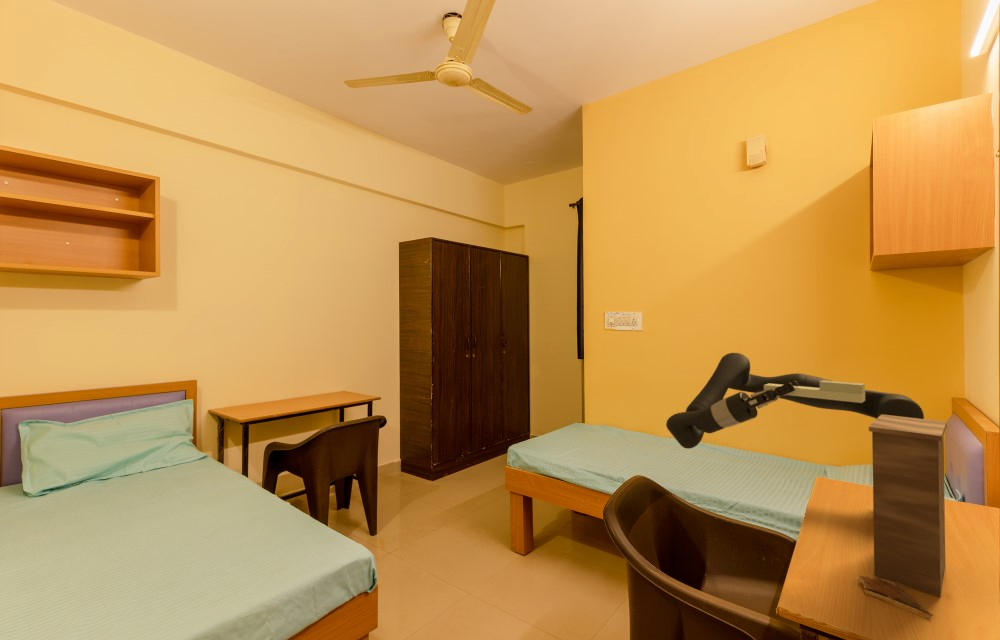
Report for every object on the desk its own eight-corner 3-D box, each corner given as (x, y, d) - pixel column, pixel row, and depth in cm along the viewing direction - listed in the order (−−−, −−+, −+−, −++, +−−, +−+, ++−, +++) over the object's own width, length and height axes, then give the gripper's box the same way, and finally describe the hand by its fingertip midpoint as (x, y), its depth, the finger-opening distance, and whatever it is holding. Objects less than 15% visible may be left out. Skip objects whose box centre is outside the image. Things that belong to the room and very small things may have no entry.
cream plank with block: (768, 390, 117) (768, 375, 117) (865, 400, 102) (864, 383, 102) (763, 392, 115) (763, 377, 115) (861, 402, 100) (861, 385, 100)
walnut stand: (883, 547, 105) (881, 414, 105) (948, 566, 97) (946, 421, 97) (871, 575, 94) (868, 426, 94) (944, 599, 86) (941, 436, 86)
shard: (933, 623, 80) (933, 613, 80) (884, 617, 81) (884, 608, 81) (894, 587, 90) (894, 579, 90) (851, 583, 92) (851, 574, 92)
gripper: (715, 401, 119) (778, 374, 108) (735, 394, 128) (795, 369, 117) (730, 427, 116) (796, 402, 105) (750, 418, 125) (812, 395, 114)
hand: (795, 385), depth 111 cm, fingers closed on cream plank with block, 4 cm apart
